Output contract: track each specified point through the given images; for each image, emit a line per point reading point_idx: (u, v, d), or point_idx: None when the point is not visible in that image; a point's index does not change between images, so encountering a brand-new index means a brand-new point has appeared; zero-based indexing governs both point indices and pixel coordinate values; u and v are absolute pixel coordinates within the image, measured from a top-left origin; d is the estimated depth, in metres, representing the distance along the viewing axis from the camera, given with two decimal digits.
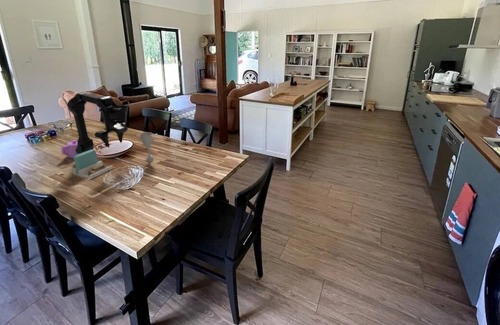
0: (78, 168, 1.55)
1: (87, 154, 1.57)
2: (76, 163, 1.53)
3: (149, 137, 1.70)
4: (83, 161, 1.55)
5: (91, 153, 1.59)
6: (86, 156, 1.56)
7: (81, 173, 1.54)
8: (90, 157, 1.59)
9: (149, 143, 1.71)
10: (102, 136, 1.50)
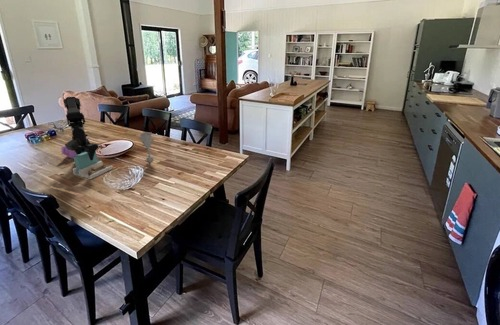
0: (78, 168, 1.55)
1: (87, 154, 1.57)
2: (76, 163, 1.53)
3: (149, 137, 1.70)
4: (83, 161, 1.55)
5: None
6: (86, 156, 1.56)
7: (81, 173, 1.54)
8: None
9: (149, 143, 1.71)
10: None
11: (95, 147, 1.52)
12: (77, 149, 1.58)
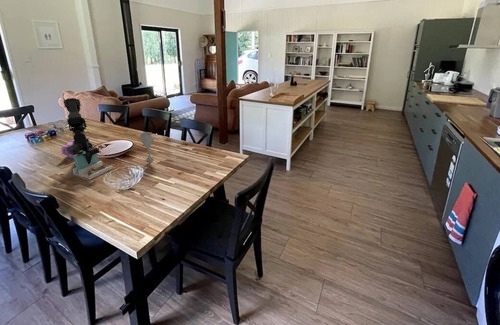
0: (78, 168, 1.55)
1: None
2: (76, 163, 1.53)
3: (149, 137, 1.70)
4: (83, 161, 1.55)
5: None
6: None
7: (81, 173, 1.54)
8: None
9: (149, 143, 1.71)
10: None
11: (96, 151, 1.53)
12: None
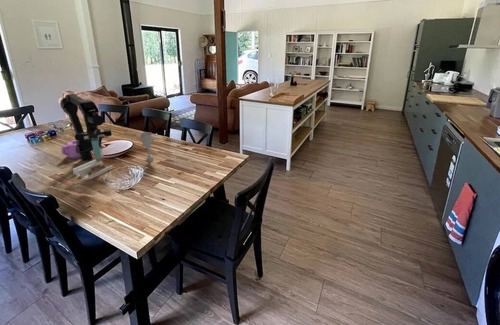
0: (97, 152, 1.57)
1: (97, 138, 1.60)
2: (95, 147, 1.56)
3: (149, 137, 1.70)
4: (98, 145, 1.59)
5: None
6: (97, 140, 1.60)
7: (81, 173, 1.54)
8: (98, 141, 1.62)
9: (149, 143, 1.71)
10: (75, 138, 1.52)
11: (111, 132, 1.63)
12: None
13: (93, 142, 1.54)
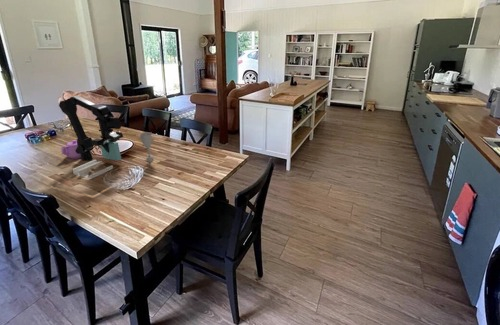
0: (118, 154, 1.67)
1: None
2: (116, 149, 1.65)
3: (149, 137, 1.70)
4: None
5: None
6: None
7: (81, 173, 1.54)
8: None
9: (149, 143, 1.71)
10: (98, 144, 1.57)
11: None
12: None
13: (115, 144, 1.64)
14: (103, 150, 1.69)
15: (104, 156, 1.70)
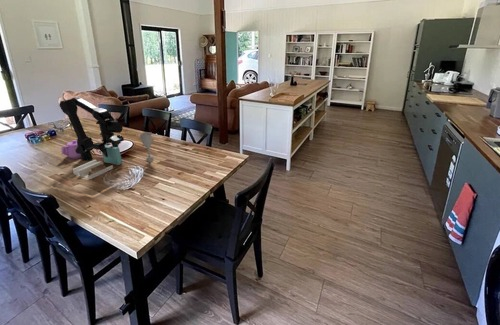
0: (119, 159, 1.68)
1: None
2: (118, 154, 1.67)
3: (149, 137, 1.70)
4: None
5: None
6: None
7: (81, 173, 1.54)
8: None
9: (149, 143, 1.71)
10: (99, 148, 1.58)
11: None
12: None
13: (116, 149, 1.65)
14: (104, 155, 1.70)
15: (105, 161, 1.72)
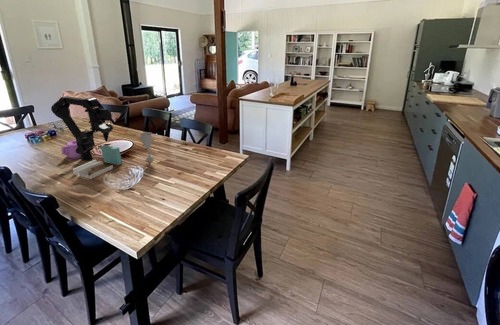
0: (119, 159, 1.68)
1: None
2: (118, 154, 1.67)
3: (149, 137, 1.70)
4: None
5: None
6: None
7: (81, 173, 1.54)
8: None
9: (149, 143, 1.71)
10: (87, 135, 1.58)
11: None
12: None
13: (116, 149, 1.65)
14: (104, 155, 1.70)
15: (105, 161, 1.72)
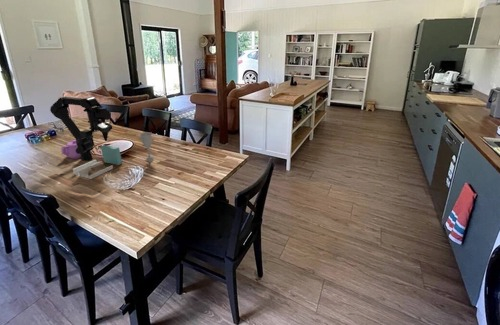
0: (119, 159, 1.68)
1: None
2: (118, 154, 1.67)
3: (149, 137, 1.70)
4: None
5: None
6: None
7: (81, 173, 1.54)
8: None
9: (149, 143, 1.71)
10: (87, 135, 1.58)
11: None
12: None
13: (116, 149, 1.65)
14: (104, 155, 1.70)
15: (105, 161, 1.72)
